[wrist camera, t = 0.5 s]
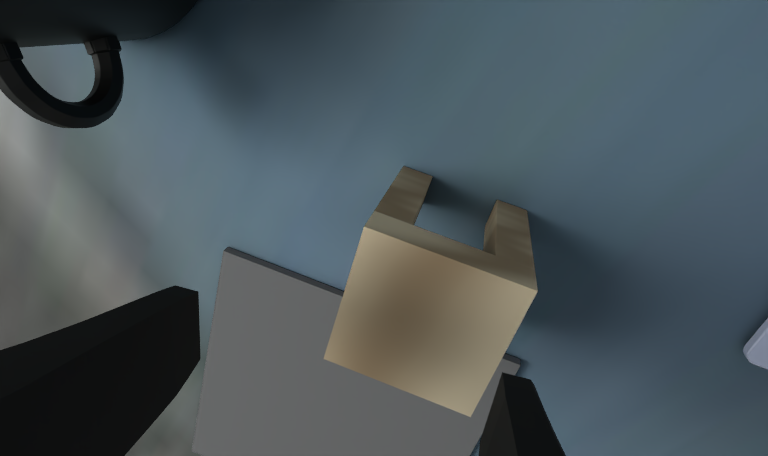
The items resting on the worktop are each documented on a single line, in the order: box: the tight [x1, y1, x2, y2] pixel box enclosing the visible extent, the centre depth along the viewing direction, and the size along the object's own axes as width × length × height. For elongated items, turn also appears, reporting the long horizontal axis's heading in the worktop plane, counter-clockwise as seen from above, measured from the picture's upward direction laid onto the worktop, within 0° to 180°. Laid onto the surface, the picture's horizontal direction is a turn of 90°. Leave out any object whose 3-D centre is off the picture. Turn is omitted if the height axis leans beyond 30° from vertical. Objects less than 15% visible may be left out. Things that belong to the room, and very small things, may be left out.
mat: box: [192, 247, 521, 456], centre depth 24 cm, size 14×14×1 cm
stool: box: [324, 166, 538, 417], centre depth 17 cm, size 5×5×6 cm
